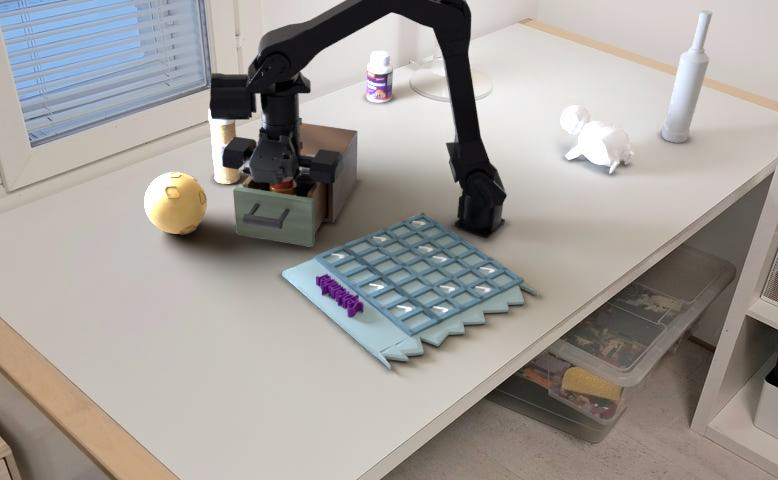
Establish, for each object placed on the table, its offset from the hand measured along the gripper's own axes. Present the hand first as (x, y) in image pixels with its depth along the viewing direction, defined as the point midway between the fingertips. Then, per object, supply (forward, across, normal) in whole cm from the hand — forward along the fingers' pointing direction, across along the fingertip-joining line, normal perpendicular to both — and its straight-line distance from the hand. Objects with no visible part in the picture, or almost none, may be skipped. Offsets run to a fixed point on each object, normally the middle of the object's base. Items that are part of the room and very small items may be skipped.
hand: (284, 206), depth 142 cm
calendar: (+4, +23, -10) cm, 26 cm away
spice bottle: (+1, 0, 0) cm, 1 cm away
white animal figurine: (+5, +47, +41) cm, 62 cm away
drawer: (+3, 0, -1) cm, 4 cm away
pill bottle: (+5, +2, +54) cm, 54 cm away
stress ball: (+4, -17, -5) cm, 18 cm away
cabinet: (+4, 0, +11) cm, 12 cm away
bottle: (+5, +63, +54) cm, 83 cm away
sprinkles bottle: (+4, -16, +12) cm, 20 cm away
